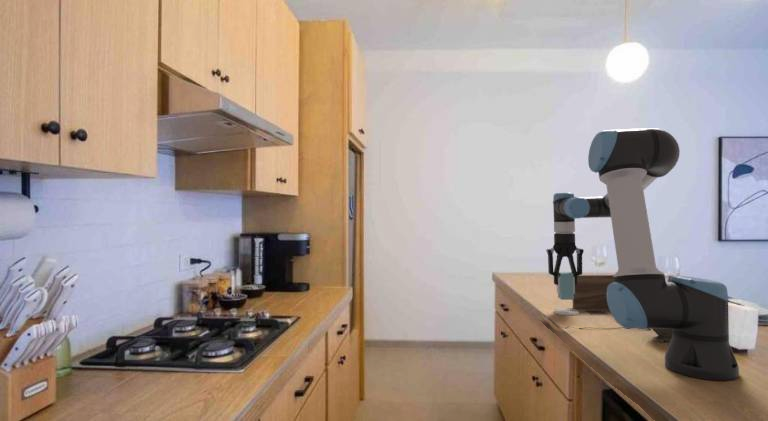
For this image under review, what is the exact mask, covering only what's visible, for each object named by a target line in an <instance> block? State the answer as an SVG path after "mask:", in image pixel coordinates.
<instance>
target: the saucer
mask: <svg viewBox="0 0 768 421" xmlns="http://www.w3.org/2000/svg"><path fill="white" fill-rule="evenodd" d="M553 313H554V314H556V315H560V316H577V315H579V314H580V311H579V310H578V309H574V308H569V307H559V308H558V307H557V308H555V309H553Z"/></svg>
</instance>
